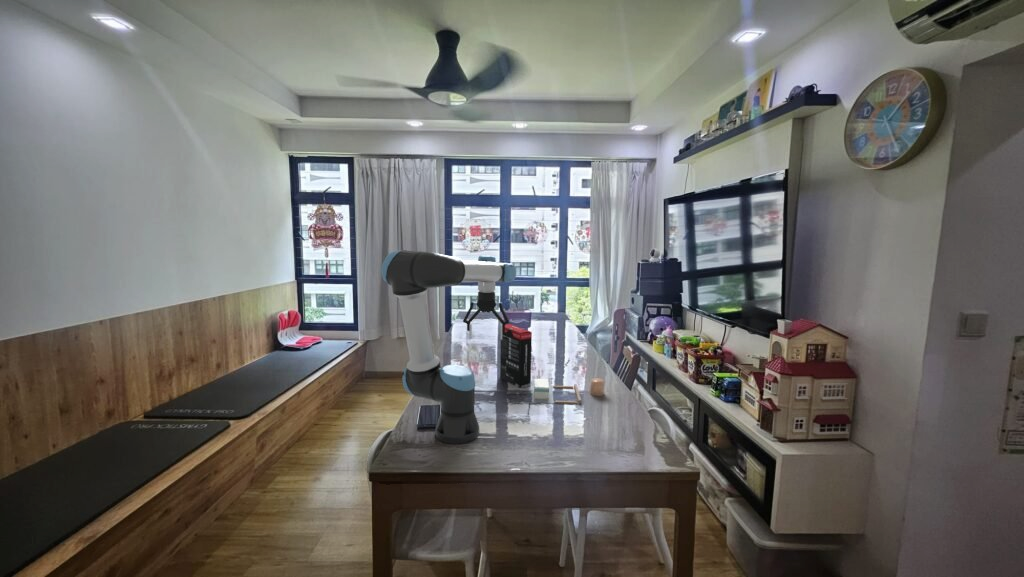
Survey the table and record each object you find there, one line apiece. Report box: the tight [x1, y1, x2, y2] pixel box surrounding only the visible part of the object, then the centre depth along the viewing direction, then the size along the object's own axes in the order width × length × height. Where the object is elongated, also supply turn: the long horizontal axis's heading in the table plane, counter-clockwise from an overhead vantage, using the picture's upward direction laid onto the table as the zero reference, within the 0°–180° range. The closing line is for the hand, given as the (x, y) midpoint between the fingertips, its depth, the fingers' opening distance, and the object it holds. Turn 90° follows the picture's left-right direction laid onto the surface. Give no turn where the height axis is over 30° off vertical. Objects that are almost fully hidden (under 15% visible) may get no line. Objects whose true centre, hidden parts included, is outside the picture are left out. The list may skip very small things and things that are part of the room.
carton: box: [533, 378, 550, 399], centre depth 177 cm, size 10×6×5 cm, turn 177°
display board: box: [531, 383, 582, 405], centre depth 177 cm, size 18×20×3 cm
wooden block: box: [589, 377, 605, 397], centre depth 183 cm, size 6×6×6 cm
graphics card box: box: [499, 323, 533, 389], centre depth 190 cm, size 17×7×27 cm, turn 35°
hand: (485, 338), depth 182 cm, fingers open, 13 cm apart
